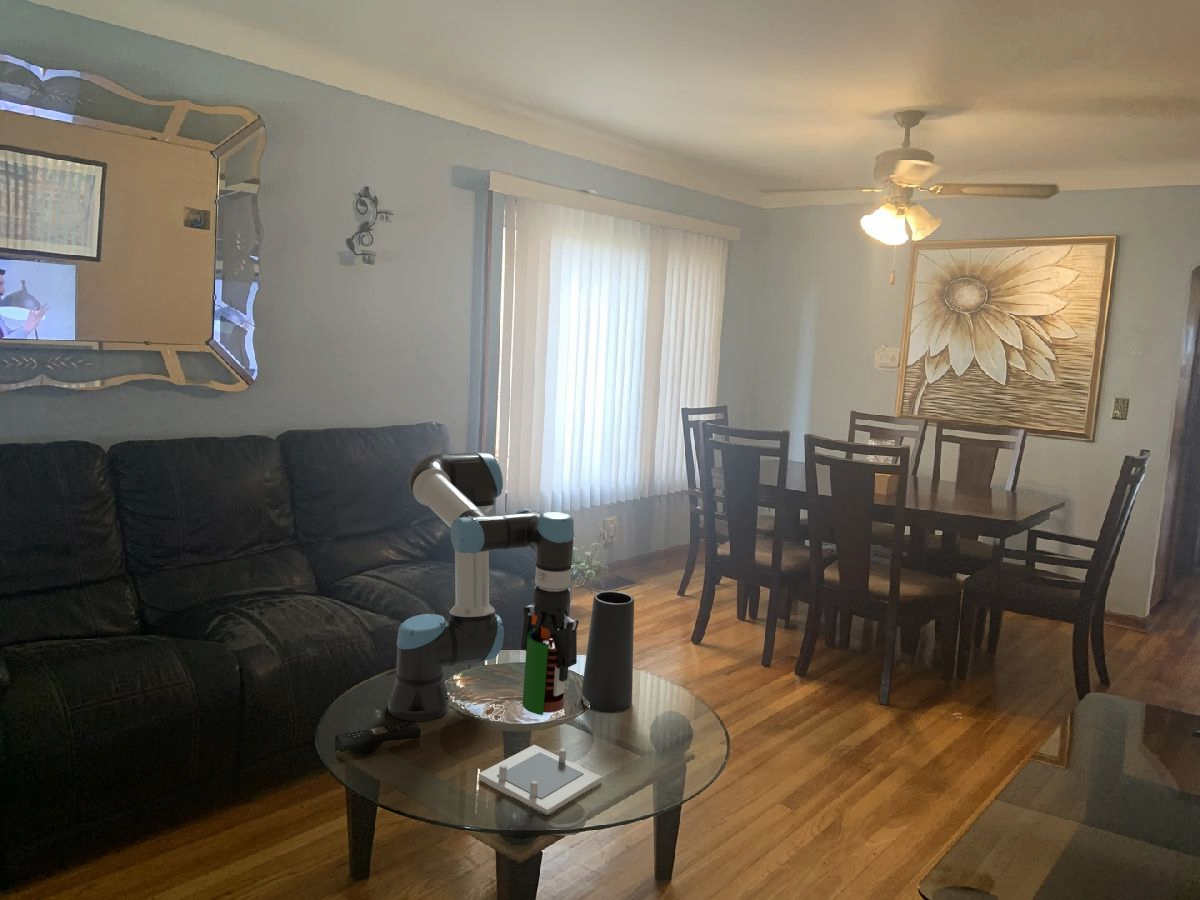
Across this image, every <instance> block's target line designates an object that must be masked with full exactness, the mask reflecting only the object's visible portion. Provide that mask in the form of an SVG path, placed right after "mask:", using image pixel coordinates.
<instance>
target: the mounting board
mask: <svg viewBox="0 0 1200 900" xmlns="http://www.w3.org/2000/svg"><path fill="white" fill-rule="evenodd" d="M478 780H479V781H480V782H482V783H484V784H486V785H488V786H490V787H492V788H493V789H495V790H497V791H499V792H501V793H503V794H504V795H506V796H508V795H509V796H508V797H510V796H511V798H512V797H514V798H516V799H519V800H521V801H522V802H524V803H527V804H528V805H531V806H533V807H535V808H538V809H539V810H541V811H543V812H546V813H549V812H551V811H552V810H554V809H556V808H558V807H560V806H562V805H564V804H566V803H568V802H569V801H571V800H572V799H574V798H576V797H577V796H579V795H581V794H582V795H584V794H586V793H587V792H589V791H590V789H591V788H592V789H594V788H596V787H597V786H598V785H601V784H602V776H601V775H599V774H597V773H595V772H592V771H590V770H589V769H586V768H584V767H583V766H580V765H578V764H576V763H574V762H572V761H570V760H567V749H565V748H560V749H559V751H558V755H557V754H555V753H553V752H552V751H548V750H546V749H544V748H543V747H540V746H538V745H536V744H533V745H531V746H529V747H527V748H525V749H523V750H521V751H519V752H518V753H516V754H514V755H511V756H510V757H508V758H506V759H504V760H502V761H500V762H499V763H498V762H497V763H495V764H494V765H492V766H490V767H489V768H486V769H485V770H482V771H481V772H479V773H478ZM593 787H594V788H593ZM592 789H591V790H592ZM588 790H589V791H588ZM586 791H587V792H586ZM585 792H586V793H585ZM583 793H584V794H583ZM582 795H581V796H582ZM579 797H580V796H579ZM514 798H513V799H514ZM576 799H577V798H576ZM574 800H575V799H574ZM571 802H572V801H571ZM568 804H569V803H568ZM566 805H567V804H566Z"/></svg>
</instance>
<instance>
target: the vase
mask: <svg viewBox="0 0 1200 900" xmlns="http://www.w3.org/2000/svg"><path fill="white" fill-rule="evenodd" d="M634 628H635V598H634V597H633V596H631V595H630V594H627V593H625V592H620V591H613V590H612V591H610V590H609V591H600V592H597V593H596V594H594V596H593V600H592V607H591V615H590V624H589V632H588V641H587V647H586V655H585V663H584V671H583V676H582V677H583V679H582V685H581V687H582V688H581V693H582V695H583V696H584V697H585V698H586V699H587V700H588V701H589V702H590V709H589V710H592V711H593V712H594V711H595V712H597V713H603V714H604V713H605V714H617V713H621V712H624V711H627V710H629V709H630V708H631V707H632V705H633V681H634V679H633V677H634V675H633V674H634V673H633V672H634V638H635V637H634V631H635V629H634Z"/></svg>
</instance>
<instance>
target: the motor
mask: <svg viewBox="0 0 1200 900" xmlns="http://www.w3.org/2000/svg"><path fill="white" fill-rule="evenodd" d="M537 616H538V615H536V614H533V615H532V624H535V623H536V621H537ZM534 630H535V629H533V630H531V631H530V632H528V634H527V647H526V651H525V660H524V661H525V662H524V676H523V689H522V691H523V693H522V703H521V704H522V707H523V708H524V709H525V710H527V712H530V713H532V714H535V715H538V716H543V715H544V713H546V714H547V713H551V714H552V713H557V712H558V711H561V710H562V709H563V708H564V702H565V691H566V690H565V689H566V688H565V689H564V693H562V694H560V695H558V696H554V695H553V693H554V677H555V666H557V665H558V660H557V655H556V651H557V648H555V645H554V640H553V636H552V635H551V633H550V630H549V629H547V628H543V627H542V625H541V638H543V639H542V640H539V641H537V640H534V639H533V633H534ZM557 630H559V629H557ZM557 630H556V631H557ZM563 661H564V660H563Z"/></svg>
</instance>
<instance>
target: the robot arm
mask: <svg viewBox="0 0 1200 900" xmlns="http://www.w3.org/2000/svg"><path fill="white" fill-rule="evenodd" d="M503 479H504V478H503V473H502V470H501V467H500V464H499V461H498V460H497V458H496V457H494V456H493V455H492V454H490V453H488V452H487V453H486V452H485V453H484V452H461V453H460V452H459V453H434V454H431V455H428V456H426V457H423V458H422V459H421V460H420V461H417V463H416V464H415V465H414V467H412V469H411V471H410V473H409V477H408V488H409V491H410V493H411V495H412V497H413V498H414V499H415V500H416V501H417V502H418V503H419V504H420V505H422V506H425V507H429V509H431V511H432V512H434V513H435V515H437V517H439V519H441V521H443V522H444V524H446V526H447V527H449V528H450V530H449V531H450V534H449V535H450V541H451V544H452V547H453V549H454V564H455V565H454V566H455V568H454V573H455V574H454V576H455V577H454V578H455V579H454V581H455V585H454V586H455V592H454V593H455V595H454V596H455V600H454V601H455V604H454V606H453V607H452V608H451V609H450V610H449V619H447V620H446V618H445V617H444V616H442V615H440V614H436V613H432V614H430V613H423V614H422V613H421V614H418V615H413V616H412V617H409V618H408V619H405V620H404V621H403V622H402V623H401V624H400V625H399V627H398V629H397V630H398V631H397V639H396V646H397V647H396V677H395V682H394V685H393V688H392V691H391V694H390V695H389V697H388V702H387V704H388V705H387V710H388V713H389V714H390V715H391V716H393V717H394V718H396V719H399V720H402V721H407V722H427V721H433V720H435V719H438V718H441V717H443V716H444V715H445V714H446V713H447V712H448V711H449V708H450V697H449V694H448V691H447V688H446V684H445V681H444V670H445V669H444V668H447V667H455V666H461V665H467V664H475V663H478V664H480V663H483V662H486V661H487V662H488V661H490V660H494V659H495V658H497V656H498V655H499V654H500V653H501V649H502V647H503V642H504V635H505V634H504V633H505V631H504V626H503V621H502V618H501V616H499V615H498V614H496V610H495V608H494V607H493V606H492V605H491V604H490V570H489V569H490V568H489V567H490V559H489V557H490V552H493V551H495V552H496V551H503V550H506V551H507V550H516V549H518V550H519V549H526V548H527V549H532V550H533V551H535V552H536V557H535V558H536V559H535V560H536V562H535V573H534V574H535V575H534V576H535V579H534V584H535V586H534V591H533V602H534V604H529V605H526V606H524V607H523V615H524V619H523V626H522V627H523V628H522V634H521V643H520V649H521V650H522V651H525V652H526V647H527V634H528V632H530V631H531V630H533V629H535V630H534V633H533V639H534V640H537V641H539V640H542V639H543V638H541V625H542V627H543V628H547V629H549V630H550V633H551V635H552V636H553V640H554V645H555V648H557V651H556V655H557V660H558V665H557V666H555V677H554V693H553V695H554V696H558V695H560V694H562V693H564V694H565V691H564V689H566V681H567V680H568V677H569V676H568V675H569V668H570V667H572V666H575V665H577V663H578V659H577V656H578V655H577V654H578V653H577V651H578V650H577V643H578V641H577V630H578V627H579V623H580V622H579V620H578V619H577V618H576V619H572V618H571V617H570V616H569V613H568V606H569V605H570V595H571V593H570V592H571V589H570V586H571V582H572V580H571V579H572V577H571V576H572V563H573V562H572V561H573V550H574V548H573V547H574V537H575V530H574V518H573V517H572V516H571V515H570V514H568V513H563V512H559V511H547V512H543V513H541V512H540V511H537V510H534V509H531V508H523V509H520V510H518V511H517V512H515V513H512V514H510V513H509V514H493V515H489V512H490V511H491V510H492V509H493V507H494V506H495V499H497V498H498V497H501V494H502V492H503V489H504V480H503ZM533 614H536V615H538V616H537V621H536V623H535V624H532V615H533ZM557 629H559V630H557ZM556 630H557V631H556ZM563 660H564V661H563Z"/></svg>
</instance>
